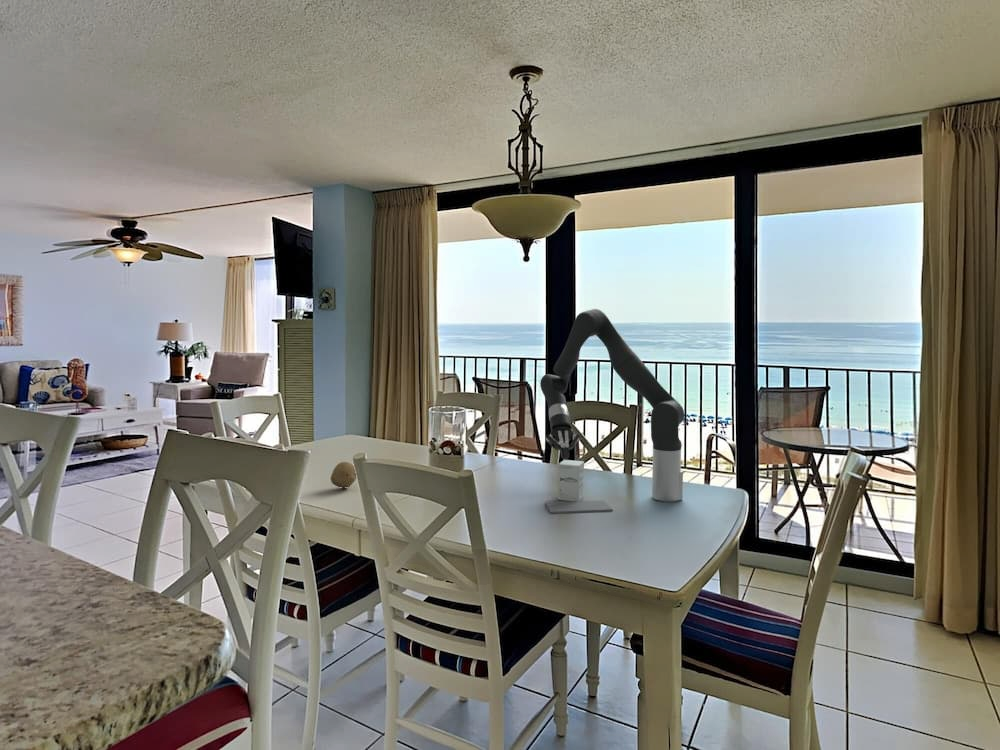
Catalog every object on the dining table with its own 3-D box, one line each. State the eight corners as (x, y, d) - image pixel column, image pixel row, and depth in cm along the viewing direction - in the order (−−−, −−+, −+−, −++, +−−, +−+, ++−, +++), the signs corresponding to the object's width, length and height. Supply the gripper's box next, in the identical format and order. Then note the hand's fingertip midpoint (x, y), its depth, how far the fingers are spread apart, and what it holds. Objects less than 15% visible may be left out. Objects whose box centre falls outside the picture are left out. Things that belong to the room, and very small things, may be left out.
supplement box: (557, 500, 203) (557, 463, 202) (563, 494, 210) (563, 459, 209) (579, 502, 201) (579, 465, 199) (584, 496, 207) (584, 460, 206)
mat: (604, 501, 201) (604, 500, 201) (612, 511, 191) (612, 509, 191) (545, 504, 199) (545, 502, 199) (550, 513, 189) (550, 511, 189)
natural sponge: (361, 490, 217) (360, 462, 216) (337, 494, 212) (336, 466, 211) (352, 484, 225) (351, 458, 224) (328, 488, 220) (327, 461, 219)
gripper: (543, 413, 220) (548, 453, 209) (578, 412, 222) (586, 452, 211) (540, 424, 226) (546, 464, 215) (575, 424, 227) (582, 463, 216)
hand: (566, 458), depth 213 cm, fingers closed
